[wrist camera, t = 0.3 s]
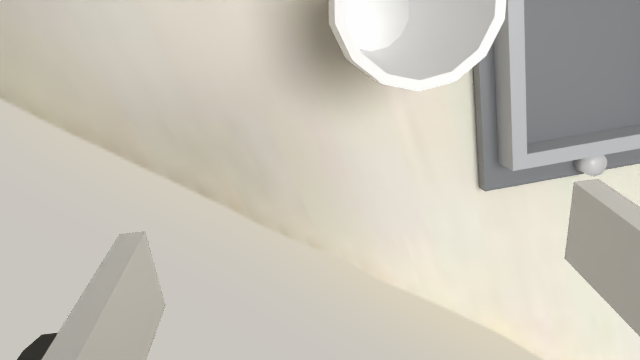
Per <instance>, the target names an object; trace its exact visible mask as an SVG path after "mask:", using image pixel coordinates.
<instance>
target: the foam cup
mask: <svg viewBox="0 0 640 360" xmlns="http://www.w3.org/2000/svg"><path fill="white" fill-rule="evenodd" d="M505 11H506V0H329V25H330V27H331V29H332V31H333V34H334V36H335V38H336V40H337V42H338V44H339V46H340V48H341V50H342V52H343V54H344V57H345V58H346V59H347V60H348V61H349V62H351V63H352V64H353V65H354V66H356V67H357V68H358V69H359V70H361V71H362V72H363V73H364V74H366V75H367V76H368V77H370V78H371V79H372V80H373V81H376V82H378V83H381V84H384V85H389V86H394V87H399V88H404V89H409V90H414V91H423V90H427V89H430V88H434V87H438V86H441V85H445V84H449V83H452V82H456V81H457V80H458V79H459V78H460V77H462V76H463V75H464V74H465V73H466V72H468V71H469V70H470V69H471V68H472V67H474V66H475V65H476V64H477V63H478V62H480V61H481V60H482V59H483V58H484V57H486V55H487V53H488V51H489V49H490V47H491V45H492V43H493V41H494V39H495V38H496V36H497V34H498V32H499V30H500V28H501V26H502V24H503V22H504V20H505Z"/></svg>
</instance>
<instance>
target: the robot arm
mask: <svg viewBox="0 0 640 360" xmlns="http://www.w3.org/2000/svg"><path fill="white" fill-rule="evenodd" d="M565 259H566V260H567V261H568V262H569V263H570V264H571V265H572V266H573V267H574V269H575V270H576V271H577V272H578V273H579V274H580V275H581V276H582V277H583V278H584V279H585V280H586V281H587V282H588V283H589V284H590V285H591V286H592V287H593V288H594V289H595V290H596V291H597V292H598V293H599V295H600V296H601V297H602V298H603V299H604V300H605V301H606V302H607V303H608V304H609V305H610V306H611V307H612V308H613V309H614V310H615V311H616V312H617V313H618V314H619V315H620V316H621V317H622V318H623V319H624V320H625V322H626V323H627V324H628V325H629V326H630V327H631V328H632V329H633V330H634V331H635V332H636V333H637V334H638V335H639V336H640V207H639V206H638V205H636V204H635V203H633V202H632V201H630V200H629V199H627V198H626V197H624V196H623V195H621V194H620V193H618V192H617V191H615V190H614V189H612V188H611V187H609V186H608V185H607V184H605V183H604V182H602V181H601V180H599V179H595V180H587V181H578V182H574V186H573V194H572V202H571V210H570V218H569V226H568V235H567V243H566V251H565ZM164 308H165V303H164V299H163V295H162V292H161V288H160V284H159V281H158V277H157V273H156V270H155V266H154V263H153V259H152V255H151V252H150V248H149V244H148V241H147V237H146V234H145V232H135V233H127V234H120V235H119V236H118V238H117V239H116V241H115V242H114V244H113V246H112V247H111V249H110V251H109V252H108V254H107V255H106V257H105V259H104V260H103V262H102V263H101V265H100V266H99V268H98V270H97V271H96V273H95V274H94V276H93V278H92V279H91V281H90V283H89V284H88V286H87V287H86V289H85V291H84V292H83V294H82V295H81V297H80V299H79V300H78V302H77V303H76V305H75V307H74V308H73V310H72V311H71V313H70V315H69V316H68V318H67V320H66V321H65V323H64V324H63V326H62V328H61V329H60V331H59V332H58V333H52V334H44V335H41V336H40V337H39V338H38V339H36V340H35V341H34V342H33V343H32V344H31V345H29V346H28V347H27V348H26V349H25V350H24V351H23V352H22V353H21V355H20V356H19V358H18V359H17V360H146V359H147V356H148V353H149V350H150V347H151V345H152V342H153V339H154V336H155V333H156V330H157V328H158V325H159V322H160V319H161V316H162V313H163V311H164Z"/></svg>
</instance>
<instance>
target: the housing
mask: <svg viewBox="0 0 640 360" xmlns="http://www.w3.org/2000/svg"><path fill="white" fill-rule="evenodd" d="M473 76H474V95H475V114H476V133H477V153H478V172H479V187H480V188H481V189H483V190H484V191H490V190H495V189H501V188H506V187H512V186H517V185H523V184H528V183H534V182H539V181H545V180H551V179H556V178H562V177H567V176H573V175H578V174H584V173H585V174H588V175H590V176H597V175H600V174H601V173H602V172H603V171H604V170H606V169H611V168H617V167H622V166H628V165H634V164H639V163H640V0H506V11H505V20H504V22H503V24H502V26H501V28H500V30H499V32H498V34H497V36H496V38H495V39H494V41H493V43H492V45H491V47H490V49H489V51H488V53H487V55H486V57H484V58H483V59H482V60H481V61H480V62H478V63H477V64H476V65H475V66H474V67H473Z"/></svg>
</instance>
